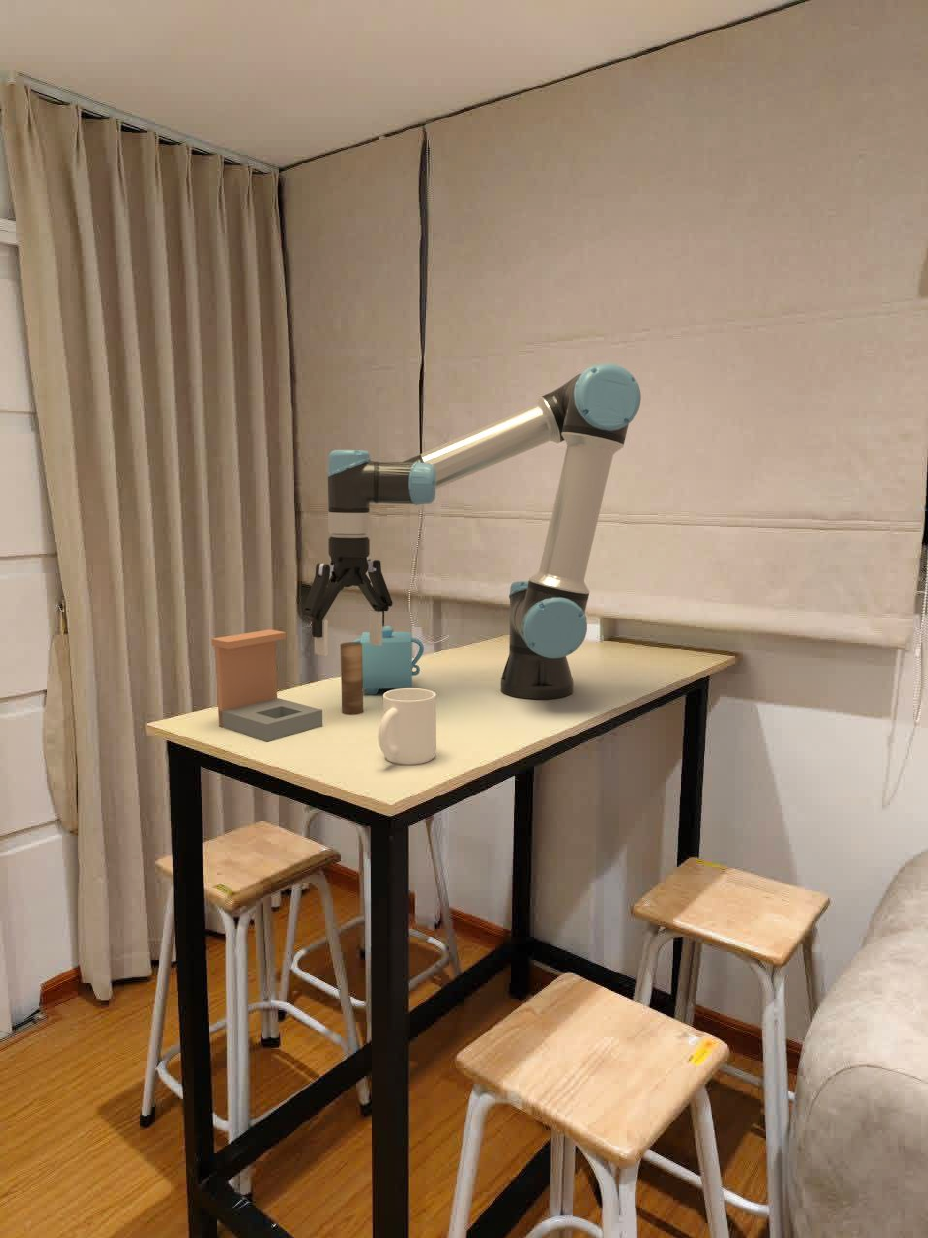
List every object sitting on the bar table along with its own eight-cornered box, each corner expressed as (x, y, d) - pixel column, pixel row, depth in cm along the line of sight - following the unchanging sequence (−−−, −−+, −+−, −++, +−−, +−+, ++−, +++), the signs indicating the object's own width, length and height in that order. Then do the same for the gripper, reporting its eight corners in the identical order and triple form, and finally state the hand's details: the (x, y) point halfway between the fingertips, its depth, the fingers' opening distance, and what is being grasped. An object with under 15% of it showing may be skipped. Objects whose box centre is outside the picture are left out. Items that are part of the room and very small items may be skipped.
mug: (402, 776, 127) (401, 709, 125) (358, 766, 131) (357, 701, 129) (446, 754, 137) (445, 692, 135) (403, 746, 141) (403, 685, 139)
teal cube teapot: (424, 695, 174) (424, 633, 172) (347, 696, 173) (346, 633, 171) (422, 675, 192) (422, 618, 190) (353, 676, 191) (351, 619, 189)
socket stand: (323, 725, 153) (321, 638, 150) (265, 742, 143) (262, 649, 140) (273, 711, 162) (270, 629, 159) (215, 725, 152) (211, 638, 150)
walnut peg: (367, 711, 162) (366, 644, 160) (352, 715, 159) (350, 647, 157) (353, 707, 165) (352, 641, 162) (337, 712, 162) (336, 644, 159)
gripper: (383, 532, 168) (383, 638, 172) (281, 537, 149) (283, 656, 153) (411, 534, 163) (410, 643, 167) (308, 539, 144) (310, 662, 148)
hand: (349, 649), depth 160 cm, fingers open, 13 cm apart
